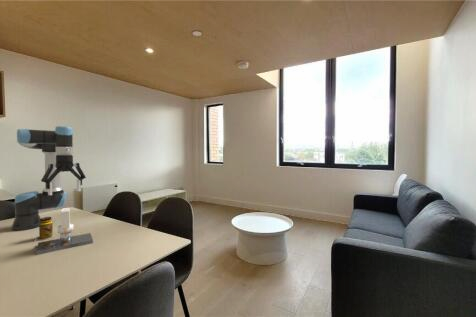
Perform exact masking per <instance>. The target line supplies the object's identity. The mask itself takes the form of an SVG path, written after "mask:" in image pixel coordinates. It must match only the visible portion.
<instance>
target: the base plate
mask: <svg viewBox="0 0 476 317" xmlns="http://www.w3.org/2000/svg"><path fill="white" fill-rule="evenodd" d="M59 235H60V236H59V237H60V238H57V239H49V240H45V241H44V240H43V241H40V242H39V241H38V243H37V248H36V251H35V252H36V253H35V254H36V255H40V254H45V253H50V252H55V251H60V250H64V249H65V250H66V249H69V248H74V247H79V246H84V245H89V244H93V243H94V239H93V236H92V234H91V232H90V233H89V232H88V233H84V234H77V235H72V231H71V232H68V233H59Z"/></svg>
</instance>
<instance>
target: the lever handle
mask: <svg viewBox="0 0 476 317" xmlns="http://www.w3.org/2000/svg"><path fill="white" fill-rule="evenodd" d="M70 208H71V207H65V208H62V207H61V211H60V217H61V218H60V220H61V221H60V222H61V224H60V225H59V226H57V234H60V233H68V232H71V233H72V232H73V231H74V223H71V211H70Z"/></svg>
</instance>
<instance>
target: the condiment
mask: <svg viewBox="0 0 476 317" xmlns="http://www.w3.org/2000/svg"><path fill="white" fill-rule="evenodd" d="M40 218H41V219H40V224H39V229H38V230H39V232H38V233H39V235H38V236H36V237H35V238H34V240H33V242H37V241H38V242H39V241H44V240H45V241H46V240H52V239H53V238H54V236H55V233H54V232H53V221H52V217H51V216H44V217H40ZM53 233H54V234H53Z"/></svg>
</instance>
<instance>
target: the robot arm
mask: <svg viewBox="0 0 476 317" xmlns="http://www.w3.org/2000/svg"><path fill="white" fill-rule="evenodd" d="M73 134H74V132H73V128H72V126H64V125H63V126H62V125H60V126H55V130H45V129H44V130H43V129H42V130H41V129H27V128H25V129H24V128H20V129H17V130H16V142H17V143H18V144H19V145H20V146H22V147H24V148H27V149H33V150H41V152H42V153H43V154H44V174H43V177H42V178H41V179H40V181H41V182H42V183H44V188H43V189H42V190H41V192H39V191H37V190H35V191H27V192H22V193H19V194H17V195H15V197H14V202H13V203H14V216H15V217H14V220H13V222H12V224H11V230H12V231H25V230H26V231H27V230H32V229H36V228H38V227H39V224H40V219H41V218H42V217H41V216H40V213H39V211H40V210H42V211H43V210H47V209H56V208H62V207H64V206H65V203H66V198H67V192H66V191H65V190H64V188H63V187H62V186H61V185H62V184H61V179H62V178H61V173H63V172H70V173H71V174H73V176H74V177H76V192H81V191H82V190H81V186H82V185H83V180H84V179H86V175H85V174H84V172H83V169H82V168H81V166H80V163H79V162H75V163H74V155H73V153H74V148H73V147H74V144H73V139H74V138H73V137H74V135H73ZM74 167H75V169H76V170H75V169H74Z"/></svg>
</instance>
